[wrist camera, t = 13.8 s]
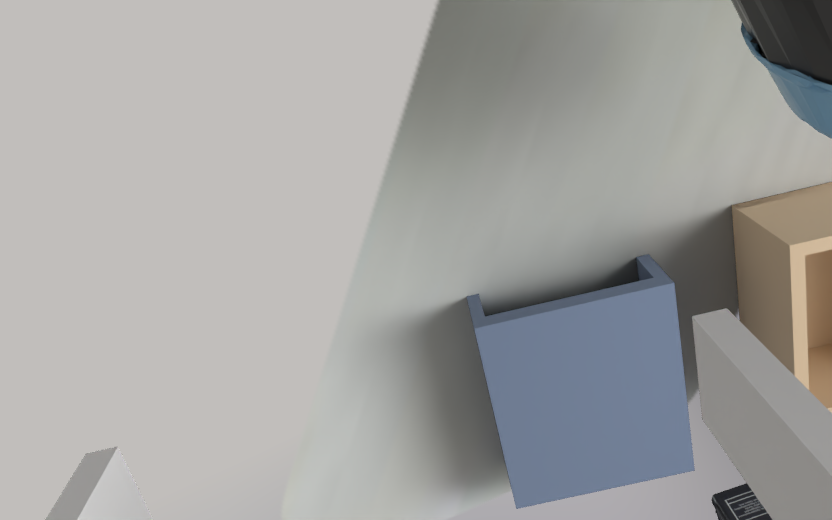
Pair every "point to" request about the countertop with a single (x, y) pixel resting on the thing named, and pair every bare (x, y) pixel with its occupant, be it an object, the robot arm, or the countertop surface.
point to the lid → (588, 388)
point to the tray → (789, 280)
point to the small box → (739, 505)
